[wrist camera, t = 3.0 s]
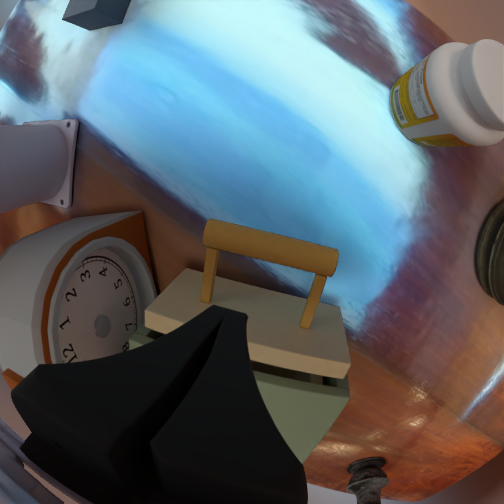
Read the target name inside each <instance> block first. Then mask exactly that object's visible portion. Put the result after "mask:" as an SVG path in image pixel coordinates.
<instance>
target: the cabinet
mask: <svg viewBox="0 0 504 504" xmlns="http://www.w3.org/2000/svg"><path fill="white" fill-rule="evenodd" d="M163 335H165V334H164V333H161V332H158V331H155V330H152V329H150V328H147V327H145V321H144V322H143V323H142V324H141V325H140V327H139V328H138V329H137V330H136V331H135V333H134V334H133V335H132V336H131V337H130V338H129V350H131V349H134V348H137V347H139V346H142V345H145V344H147V343H149V342H151V341H153V340H156V339H158V338H160V337H162V336H163ZM253 373H254V376H255V379H256V382H257V385H258V388H259V391H260V393H261V396H262V398H263V401H264V403H265V405H266V407H267V409H268V411H269V413H270V415H271V417H272V419H273V421H274V423H275V425H276V427H277V429H278V430H279V432H280V433H281V435H282V437H283V438H284V440H285V441H286V443H287V444H288V446H289V447H290V449H291V450H292V452H293V453H294V454H295V456H296V457H297V458H298V459H299V461H300V462H301V463H303V462H304V461H305V460H306V459H307V457H308V456H309V455H310V454H311V453H312V451H313V450H314V449H315V447H316V446H317V445H318V444H319V442H320V441H321V440H322V438H323V437H324V436H325V434H326V433H327V432H328V430H329V429H330V428H331V426H332V425H333V423H334V422H335V421H336V419H337V418H338V416H339V415H340V413H341V412H342V410H343V409H344V407H345V406H346V404H347V403H348V401H349V400H350V391H349V384H348V376H347V373H346V375H345V377H344V378H343V379H339V378H333V377H327V376H322V379H323V385H320V384H314V383H309V382H304V381H299V380H294V379H289V378H284V377H280V376H275V375H271V374H267V373H262V372H258V371H254V370H253Z"/></svg>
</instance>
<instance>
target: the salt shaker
mask: <svg viewBox="0 0 504 504" xmlns="http://www.w3.org/2000/svg"><path fill="white" fill-rule="evenodd" d="M384 464H385V460H384V459H383V458H378V457H372V458H366V459H362V460H359V461H356V462H354V463H352V464H351V465H350V466H349V467H348V472H350V473H352V474H354V475H353V476H352V477H351V478H350V481H349V483H348V486H347V488H346V491H347V492H348V493H352V494H356V497H357V504H381V500H380V492H381V488H383V487H385V486H386V485H388V483H389V482H390V479H389V478H387V475H386V474H385V472H384V471H383V470H381V469H380V468H381V467H382V466H383V465H384Z"/></svg>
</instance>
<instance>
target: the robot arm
mask: <svg viewBox="0 0 504 504" xmlns="http://www.w3.org/2000/svg"><path fill="white" fill-rule="evenodd" d="M77 131H78V120H76V119H65V120H47V121H35V122H25V123H23V124H22V125H8V126H0V214H1V213H4V212H7V211H10V210H13V209H16V208H20V207H23V206H26V205H29V204H33V203H36V202H43V203H47V204H51V205H55V206H59V207H62V208H69V207H70V206H71V200H72V179H73V166H74V155H75V146H76V138H77ZM63 201H64V203H63ZM247 321H248V315H247V314H246V313H243V312H239V311H235V310H232V309H228V308H224V307H221V306H217V305H214V304H213V305H212V306H210V307H208V308H207V309H206V310H204V311H203V312H201V313H200V314H198V315H197V316H195V317H194V318H192V319H191V320H189V321H188V322H186V323H184V324H183V325H181V326H180V327H178V328H176V329H175V330H173V331H171V332H169V333H167V334H165V335H163V336H162V337H160V338H158V339H156V340H153V341H151V342H149V343H147V344H145V345H142V346H139V347H137V348H134V349H131V350H128V351H125V352H121V353H118V354H114V355H111V356H107V357H103V358H98V359H93V360H87V361H80V362H72V363H57V364H39V365H38V366H37V367H36V368H34V369H33V370H32V371H31V372H30V373H29V374H28V375H27V376H26V377H25V378H24V379H23V380H22V381H21V382H20V383H19V384H18V385H17V386H16V387H15V388H14V389H13V390H12V391H11V398H12V401H13V403H14V405H15V407H16V409H17V411H18V412H19V414H20V415H21V417H22V419H23V420H24V422H25V423H26V425H27V426H28V428H29V429H30V431H31V432H32V433H31V434H30V435H29V437H28V438H27V439H26V440H24V439H22V438H21V437H20V436H19V435H18V434H17V433H16V432H14V431H13V430H12V429H11V428H10V427H9V426H8V425H7V424H6V423H5V422H4V421H3V420H2V419H1V418H0V504H64V502H63V501H61V500H60V499H59V498H58V497H56V496H55V495H54V494H53V493H51V492H50V491H49V490H48V489H47V488H45V487H44V486H43V485H42V484H41V483H40V482H39V481H38V480H37V479H36V478H34V477H33V476H32V475H31V474H30V473H29V472H28V471H26V470H25V469H24V464H23V463H25V464H26V465H27V466H28V467H29V468H31V469H32V470H33V471H34V472H35V473H37V474H38V475H39V476H40V477H42V478H43V479H44V480H46V481H47V482H49V483H50V484H51V485H52V486H54V487H55V488H57V489H58V490H60V491H61V492H63V493H64V494H65V495H67V496H68V497H70V498H71V499H73V500H74V501H76V502H78V503H79V504H307V503H308V492H307V482H306V476H305V471H304V467H303V465H302V463H301V462H300V461H299V459H298V458H297V457H296V456H295V454H294V453H293V452H292V450H291V449H290V447H289V446H288V444H287V443H286V441H285V440H284V438H283V437H282V435H281V433H280V432H279V430H278V429H277V427H276V425H275V423H274V421H273V419H272V417H271V415H270V413H269V411H268V409H267V407H266V405H265V403H264V401H263V398H262V396H261V393H260V391H259V388H258V385H257V382H256V379H255V376H254V373H253V369H252V365H251V361H250V356H249V350H248V343H247Z"/></svg>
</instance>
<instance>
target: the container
mask: <svg viewBox="0 0 504 504" xmlns="http://www.w3.org/2000/svg"><path fill="white" fill-rule="evenodd" d="M475 265H476V273H477V277H478V280H479V282H480V284H481V286H482V288H483V289H484V291H485V292H486V293H487V294H488V295H489V296H490V297H492V298H494V299H495V300H496V301H497V302H498V303H499V304H501V305H504V201H502V202H501V203H499V204H498V205H497V206H496V207H495V208H494V209H493V210H492V211H491V212H490V214H489V215H488V217H487V219H486V221H485V223H484V225H483V227H482V229H481V232H480V235H479V239H478V243H477V248H476V255H475Z"/></svg>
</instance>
